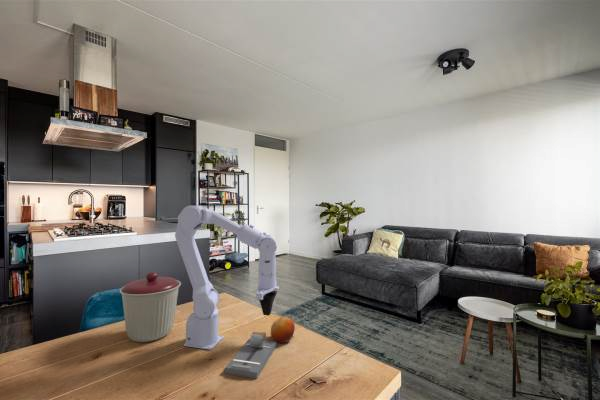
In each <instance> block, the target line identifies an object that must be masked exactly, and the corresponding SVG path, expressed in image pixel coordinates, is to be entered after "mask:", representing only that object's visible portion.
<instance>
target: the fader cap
mask: <svg viewBox="0 0 600 400" xmlns="http://www.w3.org/2000/svg"><path fill="white" fill-rule="evenodd" d="M250 338H251V339H250V347H257V348H264V346H265V345H266V340H267V333H266V332H265V331H256V330H253V331H252V332H251V333H250Z"/></svg>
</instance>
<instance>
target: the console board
mask: <svg viewBox="0 0 600 400" xmlns="http://www.w3.org/2000/svg"><path fill="white" fill-rule="evenodd" d="M250 339H251V337H249V338H248V339H247V340H246V342H245V343H244V344H243V346H242V347H241V348H240V349H239V350H238V352H237V353H236V354H234V356H233V357H232V358H231V360H230V361H228V363H227V365H225V366H224V374H226V375H233V376H239V377H246V378H251V379H256V380H257V379H258V378H259V376H260V375H261V373H262V371H263V369H264V368H265V366H266V364H267V363H268V361H269V360H270V358H271V356H272V355H273V353H274V351H275V349H276V348H277V342H276V341H275V340H274V341H273V340H267V339H266V345H265V346H264V348H257V347H250Z"/></svg>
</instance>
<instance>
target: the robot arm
mask: <svg viewBox="0 0 600 400" xmlns="http://www.w3.org/2000/svg"><path fill="white" fill-rule="evenodd" d="M210 224H211V225H215V226H218V227H220V228H221V229H224V230H226V231H229V232H231V233H232V234H234V235H236V237H237V238H236V239H237V240H238V241H239V242H242V243H243V244H245V245H247V246H248V247H250V248H252V249H254V250H258V252H259V258H258V274H257V275H258V277H257V278H258V283H257V284H258V285H257V289H256V290H257V291H256V292H255V300H258V301H259V304H260V307H261V311H262V315H263V316H270V315H271V313H272V309H273V305H274V301H275V298H276V296H277V294H278V290H279V289H280V286H278V285H277V284H278V283H277V282H278V281H277V258H276V255H277V254H276V251H277V248H278V247H277V242H276V240H275V238H274V237H272V236H271V235H270V234H267V232H265V231H263V232H261V231H260V230H258V229H256V228H254V225H252V224H244V225H240V224H239V223H237V222H235V221H233V220H231V219H229V218H228V217H226V216H224V215H223V214H221V213H220V212H217V211H215V210H213V209H211V208H207V207H205V206H203V205H199V204H198V205H192V204H191V205H187V206H185V207H183V209H182V210H181V211H180V213H179V215H178V216H177V225H176V229H175V234H174V238H175V241H176V244H177V246H178V249H179V251H180V254H181V258H182V261H183V264H184V266H185V269H186V272H187V276H188V278H189V281H190V284H191V286H192V301H193V309H192V310H193V312H192V313H190V314H189V316H188V317H187V320H186V324H185V342H184V344H183V345H184V347H190V348H195V349H202V350H212V349H213V348H214V347H216V346H217V344H219V343H220V342H221V341H222V340H224V335H219V320H220V319H219V309H218V308H217V307H218V304H219V302H220V293H219V292H218V291H217V290H216V289H215V288H214V285H213V283H211V281H210V280H209V277H208V275H207V271H206V269H205V266H204V262H203V260H202V257H201V254H200V251H199V248H198V246H197V242H196V240H195V235H196V233H197V231H198V229H199V228H200V227H201V226H202V225H210Z"/></svg>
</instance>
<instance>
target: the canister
mask: <svg viewBox="0 0 600 400" xmlns="http://www.w3.org/2000/svg"><path fill="white" fill-rule="evenodd" d="M158 275H159V274H158V272H156V271H150V272H148V273H146V274H145V278H140V279H136V280H132V281H130V282H128V283H126V284H125V285H124V286H122V287H121V288H119V293H120V294H121V296H122V297H121V298H122V307H123V316H124V325H125V330H126V335H127V337H128V339H130V340H131V341H133V342H135V343H137V342H138V343H147V342H152V341H156V340H159V339H162V338H163V337H165V336H167V335H168V334H169V333H170V332H171V331H172V329H173V327H174V322H175V316H176V310H177V304H178V303H177V302H178V295H179V288H180V286H181V285H182V282H181V281H180V280H178V279H176V278H174V277H169V276H158Z"/></svg>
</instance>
